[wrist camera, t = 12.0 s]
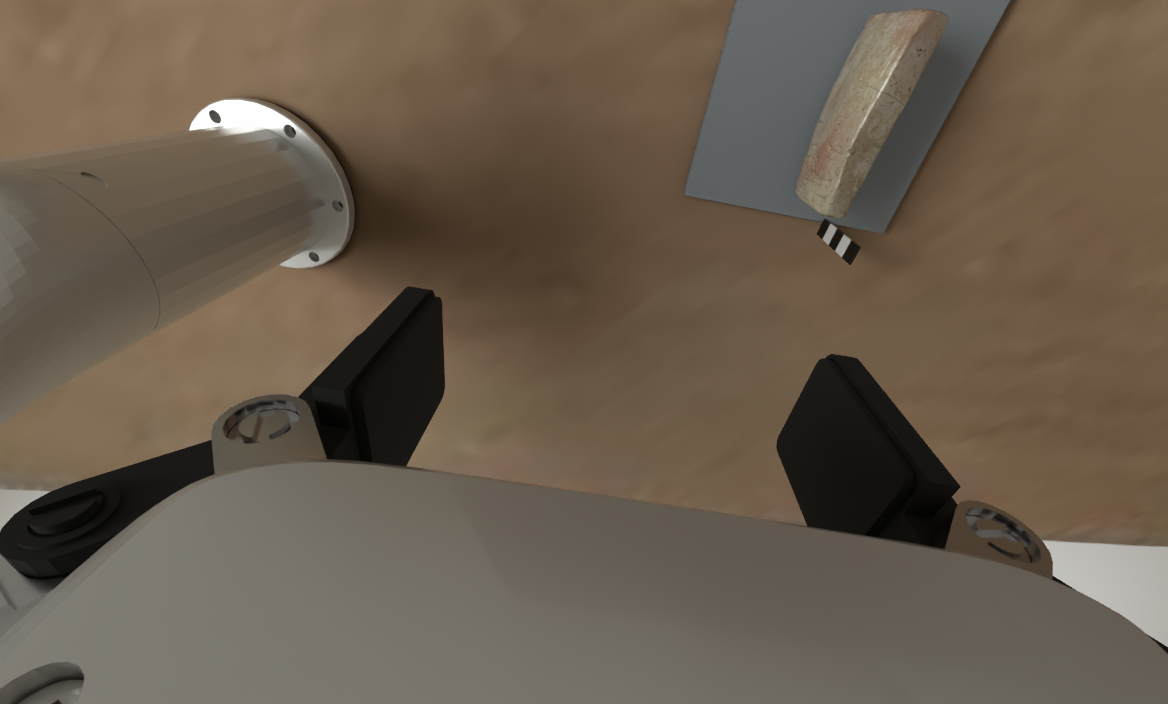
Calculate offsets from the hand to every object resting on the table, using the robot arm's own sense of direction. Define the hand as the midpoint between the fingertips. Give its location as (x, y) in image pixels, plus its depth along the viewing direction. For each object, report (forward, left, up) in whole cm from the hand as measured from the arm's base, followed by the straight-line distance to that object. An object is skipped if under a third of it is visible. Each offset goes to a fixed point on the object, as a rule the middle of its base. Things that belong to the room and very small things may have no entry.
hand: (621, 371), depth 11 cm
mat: (+10, +7, -24) cm, 27 cm away
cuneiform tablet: (+12, +4, -24) cm, 27 cm away
